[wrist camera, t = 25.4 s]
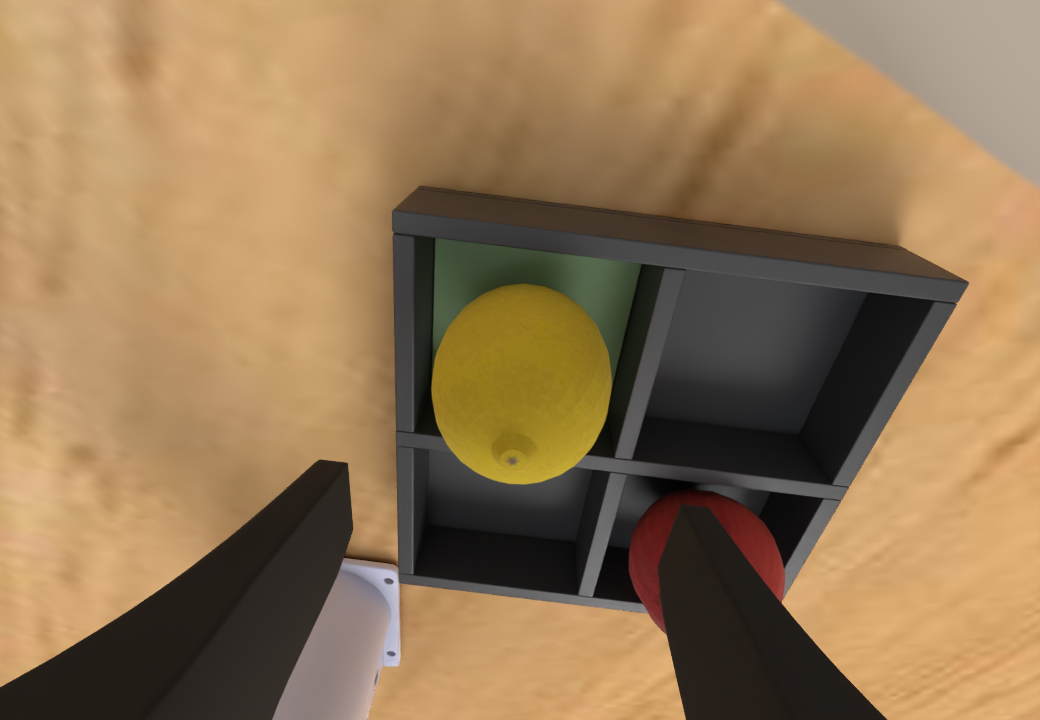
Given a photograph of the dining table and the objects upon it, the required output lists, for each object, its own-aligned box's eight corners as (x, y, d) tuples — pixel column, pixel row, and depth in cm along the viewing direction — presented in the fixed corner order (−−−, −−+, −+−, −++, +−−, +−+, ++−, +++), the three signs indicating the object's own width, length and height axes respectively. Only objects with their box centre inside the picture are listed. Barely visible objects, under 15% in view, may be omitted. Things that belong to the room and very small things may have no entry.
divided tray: (742, 564, 27) (766, 628, 24) (416, 524, 26) (398, 583, 23) (901, 245, 18) (971, 282, 15) (419, 185, 18) (391, 209, 15)
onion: (645, 552, 26) (678, 731, 19) (600, 474, 23) (620, 646, 16) (762, 520, 24) (845, 702, 17) (727, 432, 22) (807, 603, 15)
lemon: (591, 239, 18) (613, 349, 11) (608, 373, 20) (635, 530, 14) (439, 265, 19) (370, 383, 12) (474, 391, 21) (436, 548, 14)
